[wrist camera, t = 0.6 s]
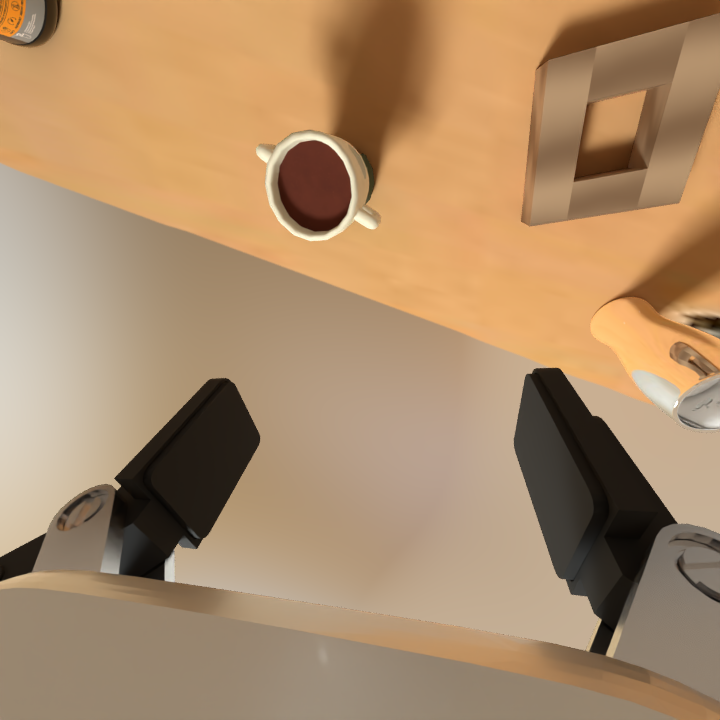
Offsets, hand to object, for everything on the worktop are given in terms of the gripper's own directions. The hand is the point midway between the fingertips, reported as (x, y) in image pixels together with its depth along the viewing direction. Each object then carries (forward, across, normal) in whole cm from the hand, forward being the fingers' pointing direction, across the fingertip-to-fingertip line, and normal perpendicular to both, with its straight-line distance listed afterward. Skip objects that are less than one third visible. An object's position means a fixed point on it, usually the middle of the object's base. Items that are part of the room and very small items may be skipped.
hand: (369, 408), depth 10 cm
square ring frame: (+30, -18, -6) cm, 35 cm away
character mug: (+30, +6, -6) cm, 31 cm away
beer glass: (+30, -25, +13) cm, 41 cm away
